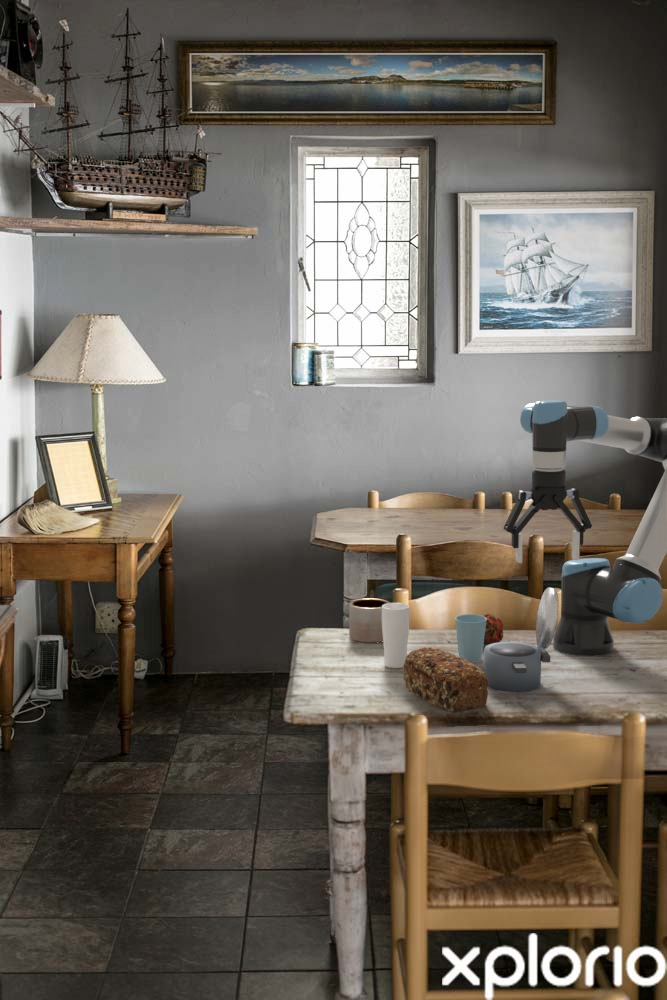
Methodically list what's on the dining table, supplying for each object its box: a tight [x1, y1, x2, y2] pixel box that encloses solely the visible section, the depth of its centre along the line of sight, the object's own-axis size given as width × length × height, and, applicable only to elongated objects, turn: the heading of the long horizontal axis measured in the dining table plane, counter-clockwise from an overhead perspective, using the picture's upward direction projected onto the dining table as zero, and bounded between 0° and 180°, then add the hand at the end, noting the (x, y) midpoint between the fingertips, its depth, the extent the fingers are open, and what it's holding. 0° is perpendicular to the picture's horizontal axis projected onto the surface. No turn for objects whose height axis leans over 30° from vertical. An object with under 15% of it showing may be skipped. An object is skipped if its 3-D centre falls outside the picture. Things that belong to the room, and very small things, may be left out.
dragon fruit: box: [483, 613, 504, 647], centre depth 290 cm, size 8×8×12 cm
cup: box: [454, 613, 487, 663], centre depth 277 cm, size 8×8×10 cm
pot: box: [483, 640, 551, 694], centre depth 259 cm, size 15×21×8 cm
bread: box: [403, 647, 489, 713], centre depth 249 cm, size 19×11×10 cm, turn 30°
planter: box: [348, 597, 391, 644], centre depth 295 cm, size 11×11×10 cm
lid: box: [535, 586, 560, 653], centre depth 257 cm, size 14×14×2 cm
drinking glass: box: [382, 602, 411, 669], centre depth 271 cm, size 7×7×15 cm
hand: (547, 560), depth 257 cm, fingers open, 13 cm apart
